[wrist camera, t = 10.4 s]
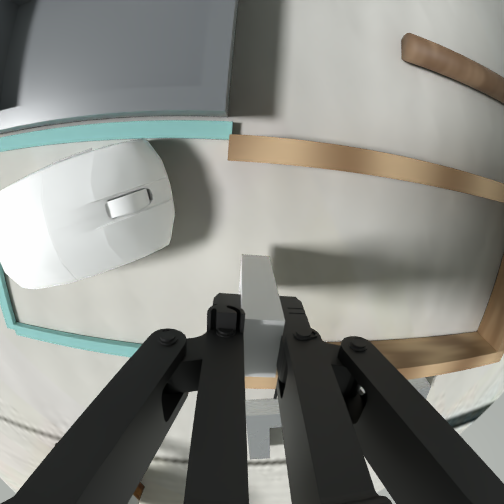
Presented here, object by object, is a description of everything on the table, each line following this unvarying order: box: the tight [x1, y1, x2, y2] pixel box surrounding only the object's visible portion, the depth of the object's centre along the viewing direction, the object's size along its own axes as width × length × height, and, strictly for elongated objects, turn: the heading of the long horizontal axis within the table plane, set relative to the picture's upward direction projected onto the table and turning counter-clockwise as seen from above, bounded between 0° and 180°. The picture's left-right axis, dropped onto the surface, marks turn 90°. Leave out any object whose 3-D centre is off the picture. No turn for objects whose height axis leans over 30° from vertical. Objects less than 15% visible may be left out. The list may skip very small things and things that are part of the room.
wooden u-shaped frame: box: [228, 134, 504, 389], centre depth 18 cm, size 24×14×4 cm, turn 86°
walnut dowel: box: [401, 33, 504, 103], centre depth 14 cm, size 12×2×2 cm
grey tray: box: [0, 0, 238, 134], centre depth 12 cm, size 17×11×3 cm, turn 86°
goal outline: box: [0, 120, 233, 357], centre depth 18 cm, size 19×16×1 cm
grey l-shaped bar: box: [245, 377, 431, 459], centre depth 23 cm, size 16×7×2 cm, turn 93°
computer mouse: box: [0, 139, 175, 289], centre depth 15 cm, size 6×13×6 cm, turn 101°
